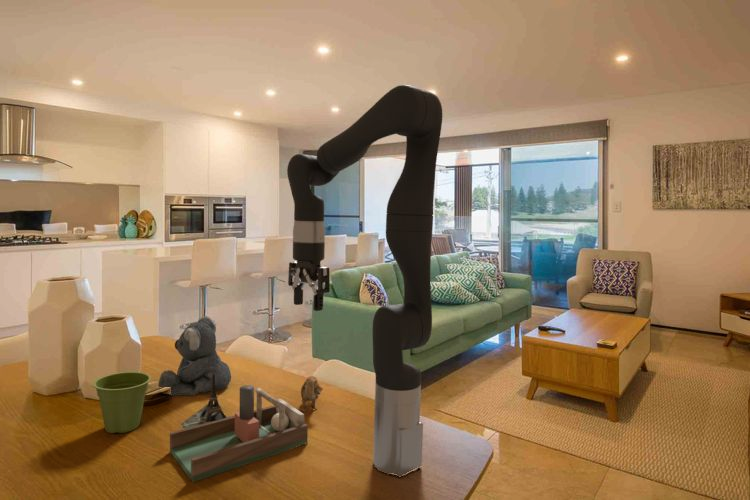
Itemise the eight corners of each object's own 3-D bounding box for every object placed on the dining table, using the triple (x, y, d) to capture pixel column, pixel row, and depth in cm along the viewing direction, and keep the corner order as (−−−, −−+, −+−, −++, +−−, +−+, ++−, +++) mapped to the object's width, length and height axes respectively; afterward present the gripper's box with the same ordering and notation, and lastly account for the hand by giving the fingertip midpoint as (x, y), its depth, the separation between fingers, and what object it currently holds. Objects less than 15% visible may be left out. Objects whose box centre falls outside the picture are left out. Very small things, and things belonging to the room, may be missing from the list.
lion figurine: (322, 416, 121) (323, 381, 120) (301, 417, 120) (301, 382, 119) (318, 393, 135) (318, 362, 134) (298, 394, 134) (299, 363, 133)
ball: (294, 418, 110) (280, 414, 107) (287, 435, 109) (273, 432, 106) (286, 412, 113) (272, 408, 110) (279, 429, 112) (265, 425, 109)
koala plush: (182, 375, 147) (181, 312, 145) (240, 377, 146) (240, 314, 145) (153, 397, 130) (153, 325, 128) (219, 400, 129) (219, 328, 127)
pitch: (307, 443, 106) (308, 400, 105) (192, 482, 90) (192, 431, 90) (276, 421, 117) (277, 381, 116) (169, 451, 101) (169, 406, 100)
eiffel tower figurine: (208, 404, 127) (208, 355, 126) (244, 408, 125) (245, 358, 124) (175, 430, 112) (175, 374, 111) (215, 434, 110) (216, 378, 109)
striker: (260, 443, 103) (260, 391, 102) (247, 447, 101) (247, 394, 100) (246, 431, 108) (246, 381, 107) (233, 434, 106) (233, 384, 105)
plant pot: (128, 442, 105) (127, 392, 104) (81, 435, 107) (80, 386, 106) (162, 419, 116) (161, 373, 115) (119, 413, 119) (118, 369, 118)
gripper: (339, 241, 112) (338, 310, 113) (305, 238, 122) (304, 301, 124) (312, 242, 107) (311, 314, 108) (279, 238, 117) (278, 304, 119)
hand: (307, 307), depth 116 cm, fingers open, 8 cm apart
